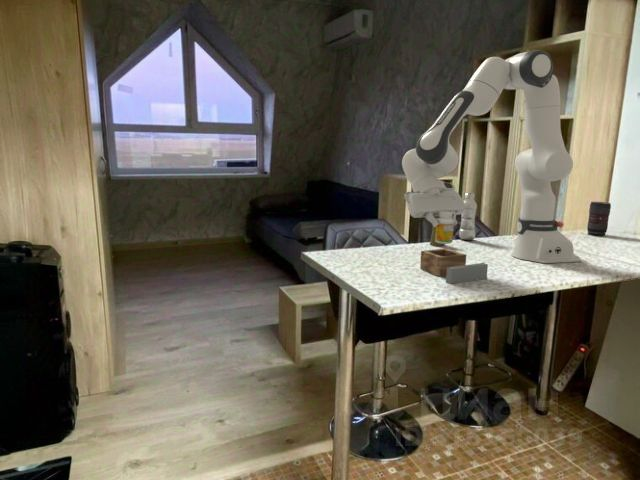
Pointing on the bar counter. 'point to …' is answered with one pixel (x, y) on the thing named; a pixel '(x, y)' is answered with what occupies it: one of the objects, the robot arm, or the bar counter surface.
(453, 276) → the slate wall
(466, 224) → the plastic bottle
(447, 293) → the bar counter surface
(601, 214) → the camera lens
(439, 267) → the walnut socket block
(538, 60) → the robot arm
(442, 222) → the supplement bottle
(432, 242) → the cork
